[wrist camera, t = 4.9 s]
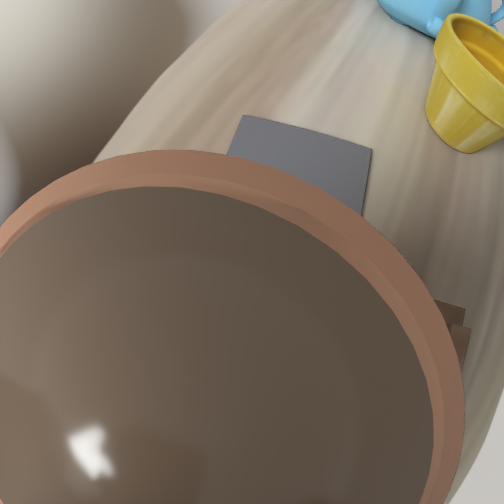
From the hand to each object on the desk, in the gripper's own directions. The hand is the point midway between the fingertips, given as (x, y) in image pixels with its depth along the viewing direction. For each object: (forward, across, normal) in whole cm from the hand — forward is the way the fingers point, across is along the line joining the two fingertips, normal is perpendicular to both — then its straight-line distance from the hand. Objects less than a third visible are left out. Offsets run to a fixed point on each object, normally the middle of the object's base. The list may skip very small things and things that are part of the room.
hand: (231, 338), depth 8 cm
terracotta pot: (+4, 0, +6) cm, 7 cm away
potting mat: (+14, 0, 0) cm, 14 cm away
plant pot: (+23, -13, -8) cm, 27 cm away
